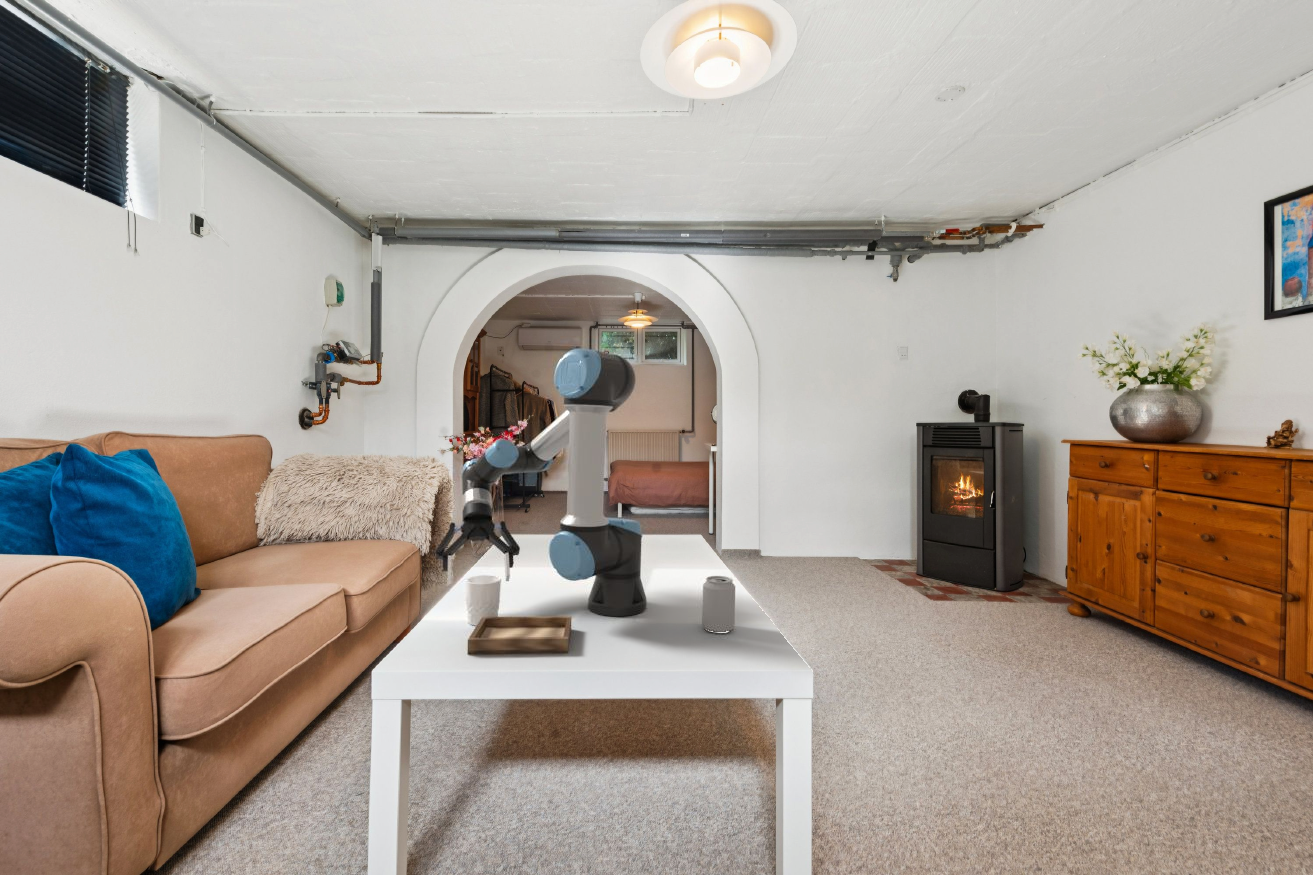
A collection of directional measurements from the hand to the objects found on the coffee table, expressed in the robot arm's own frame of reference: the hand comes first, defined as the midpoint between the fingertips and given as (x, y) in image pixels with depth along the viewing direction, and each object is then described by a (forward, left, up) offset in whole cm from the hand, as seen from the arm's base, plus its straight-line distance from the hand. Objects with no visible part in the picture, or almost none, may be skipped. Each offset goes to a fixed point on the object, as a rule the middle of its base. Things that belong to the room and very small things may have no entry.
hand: (479, 580), depth 138 cm
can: (-57, +11, -9) cm, 59 cm away
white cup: (-2, +4, -9) cm, 10 cm away
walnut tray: (-13, +17, -9) cm, 23 cm away
